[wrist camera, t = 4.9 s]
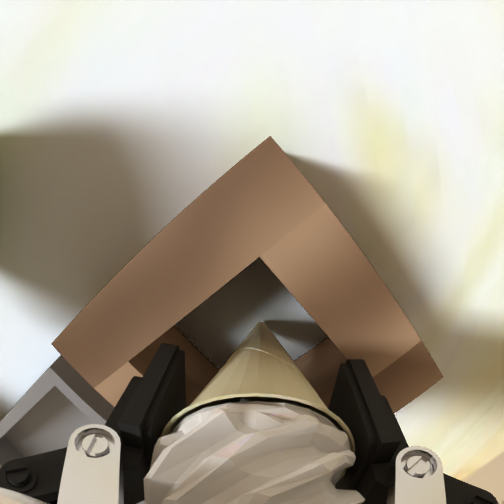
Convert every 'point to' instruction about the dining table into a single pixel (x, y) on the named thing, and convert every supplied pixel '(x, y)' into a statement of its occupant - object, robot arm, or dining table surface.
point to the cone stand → (232, 263)
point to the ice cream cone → (253, 437)
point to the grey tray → (51, 413)
